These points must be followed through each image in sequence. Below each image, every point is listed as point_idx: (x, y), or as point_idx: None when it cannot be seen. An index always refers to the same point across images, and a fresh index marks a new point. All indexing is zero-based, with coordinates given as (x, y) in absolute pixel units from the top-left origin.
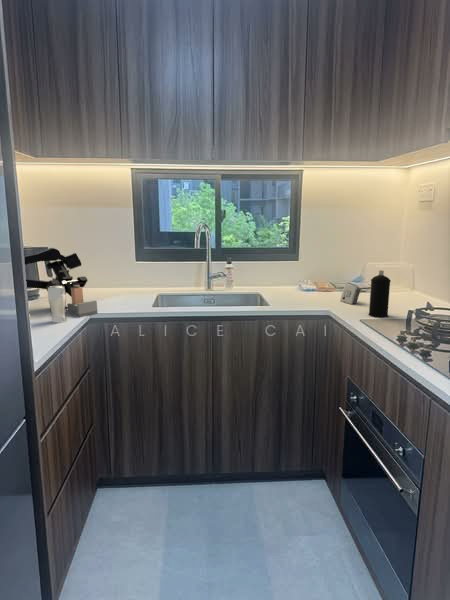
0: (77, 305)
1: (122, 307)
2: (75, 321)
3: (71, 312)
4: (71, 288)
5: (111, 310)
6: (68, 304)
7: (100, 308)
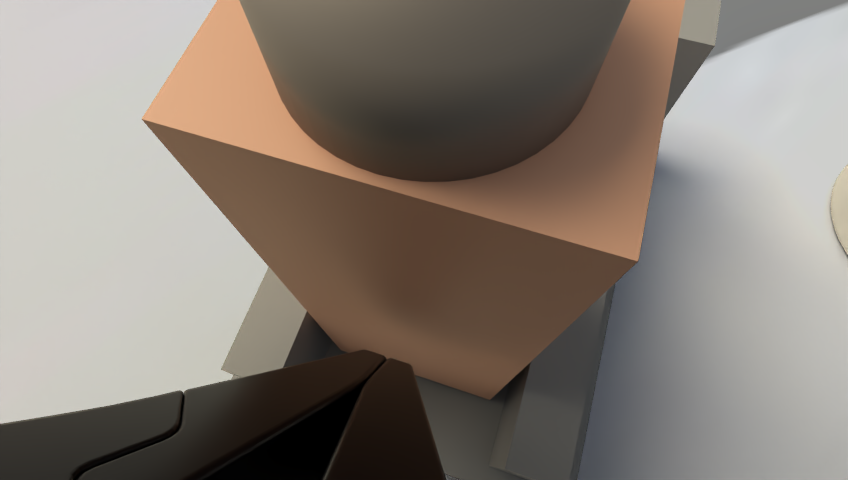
0: (698, 61)
1: (14, 16)
2: (795, 64)
3: (604, 316)
4: (644, 201)
5: (193, 35)
6: (575, 435)
7: (97, 219)
